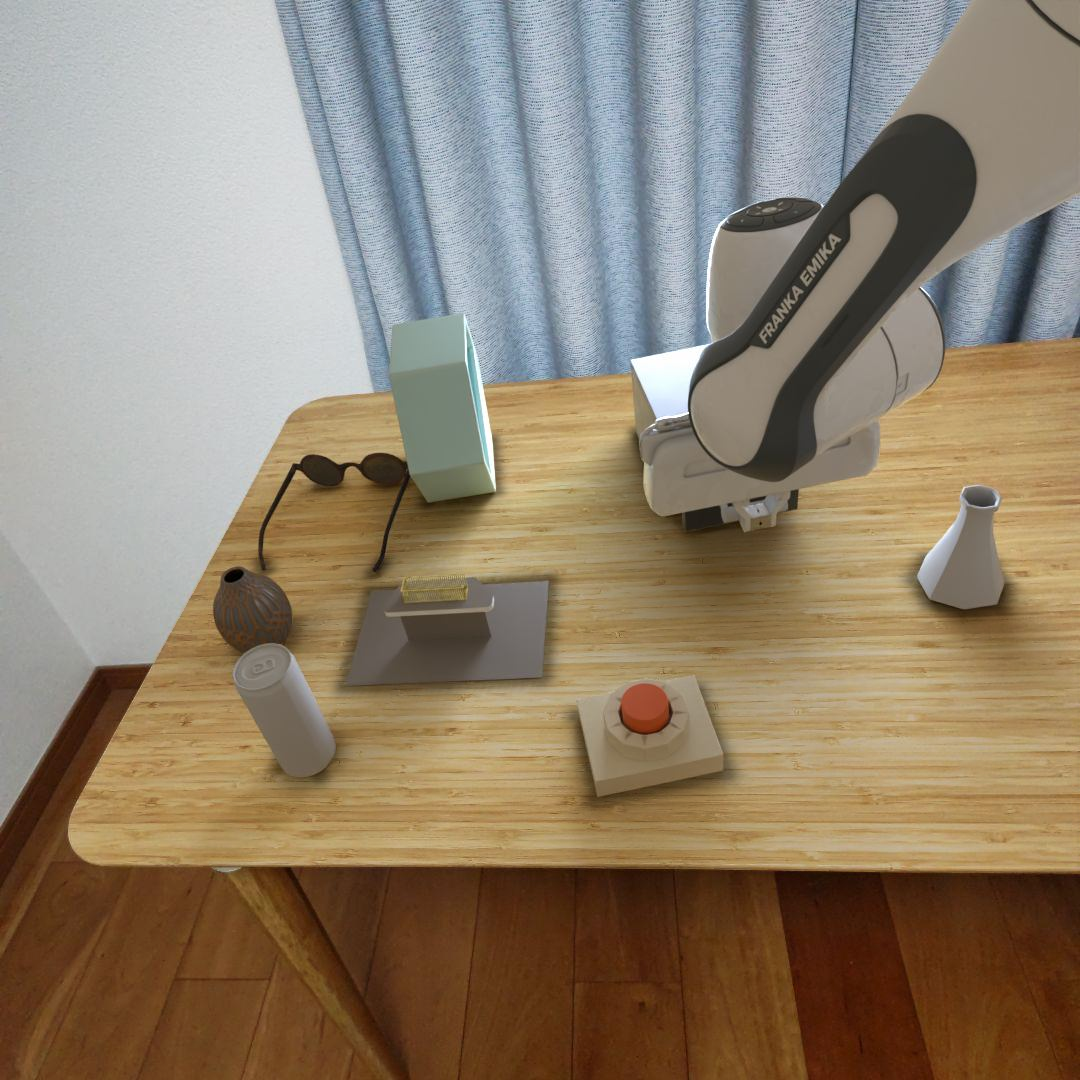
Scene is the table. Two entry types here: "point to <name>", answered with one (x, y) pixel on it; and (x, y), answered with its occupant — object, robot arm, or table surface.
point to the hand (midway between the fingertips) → (757, 524)
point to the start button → (645, 708)
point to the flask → (966, 555)
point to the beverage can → (284, 709)
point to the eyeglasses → (331, 474)
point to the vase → (251, 610)
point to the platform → (451, 632)
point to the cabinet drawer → (727, 513)
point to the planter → (441, 408)
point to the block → (649, 739)
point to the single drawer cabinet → (662, 385)
